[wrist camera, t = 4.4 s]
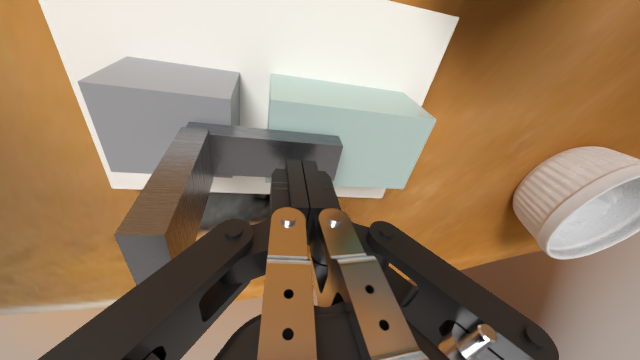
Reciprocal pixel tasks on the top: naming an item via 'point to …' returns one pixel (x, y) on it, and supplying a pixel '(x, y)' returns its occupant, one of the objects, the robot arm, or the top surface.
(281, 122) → the pale green block
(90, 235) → the top surface
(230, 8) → the base plate
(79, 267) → the top surface
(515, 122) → the top surface
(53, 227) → the top surface
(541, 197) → the ramekin
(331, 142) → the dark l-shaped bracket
